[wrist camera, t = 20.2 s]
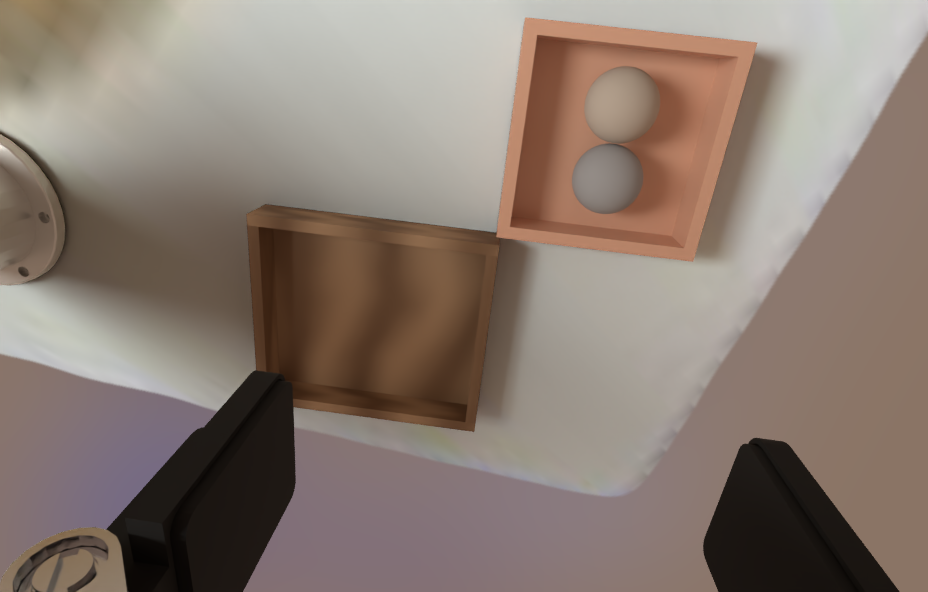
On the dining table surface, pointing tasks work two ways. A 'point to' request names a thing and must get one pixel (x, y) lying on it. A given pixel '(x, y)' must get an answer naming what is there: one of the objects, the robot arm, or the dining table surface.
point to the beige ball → (622, 104)
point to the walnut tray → (372, 313)
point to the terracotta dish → (659, 150)
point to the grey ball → (607, 178)
